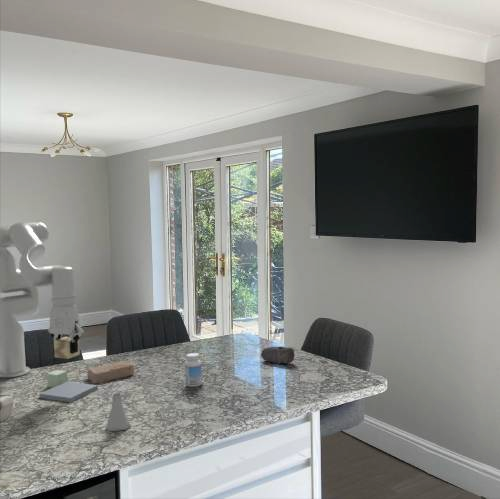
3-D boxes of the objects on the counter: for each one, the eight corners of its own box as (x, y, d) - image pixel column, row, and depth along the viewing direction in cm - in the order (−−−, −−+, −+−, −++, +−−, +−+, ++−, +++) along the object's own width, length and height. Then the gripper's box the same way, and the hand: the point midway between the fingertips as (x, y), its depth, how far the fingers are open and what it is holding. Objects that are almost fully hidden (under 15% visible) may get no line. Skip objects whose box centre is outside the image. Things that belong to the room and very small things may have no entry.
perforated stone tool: (258, 362, 225) (257, 345, 224) (264, 359, 229) (264, 343, 228) (289, 367, 216) (289, 350, 216) (295, 363, 221) (295, 347, 220)
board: (39, 397, 188) (39, 393, 188) (67, 385, 201) (67, 381, 201) (70, 402, 182) (70, 398, 182) (97, 389, 195) (97, 385, 195)
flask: (108, 423, 163) (106, 391, 162) (132, 421, 164) (130, 389, 163) (103, 432, 156) (102, 399, 155) (128, 431, 156) (127, 397, 156)
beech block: (54, 357, 189) (53, 340, 189) (66, 352, 195) (65, 336, 194) (68, 358, 187) (67, 342, 186) (79, 354, 192) (78, 337, 192)
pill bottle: (205, 383, 199) (204, 353, 198) (196, 388, 193) (195, 357, 192) (191, 381, 201) (190, 351, 201) (182, 386, 196) (181, 356, 195)
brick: (94, 384, 202) (93, 372, 202) (86, 379, 209) (86, 367, 208) (135, 375, 212) (134, 364, 212) (126, 371, 219) (126, 359, 218)
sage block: (47, 386, 200) (46, 373, 200) (57, 382, 205) (56, 370, 204) (58, 388, 198) (57, 375, 198) (67, 384, 203) (66, 371, 202)
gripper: (37, 302, 189) (40, 352, 191) (75, 304, 182) (78, 356, 184) (53, 299, 196) (55, 347, 197) (90, 301, 189) (93, 351, 190)
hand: (66, 351), depth 190 cm, fingers closed on beech block, 6 cm apart
